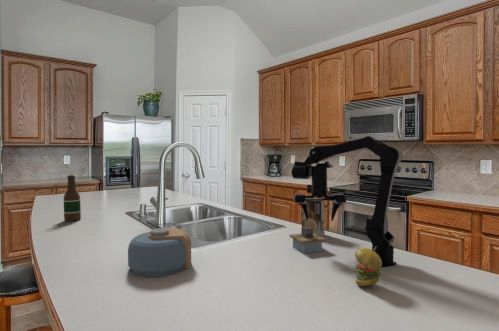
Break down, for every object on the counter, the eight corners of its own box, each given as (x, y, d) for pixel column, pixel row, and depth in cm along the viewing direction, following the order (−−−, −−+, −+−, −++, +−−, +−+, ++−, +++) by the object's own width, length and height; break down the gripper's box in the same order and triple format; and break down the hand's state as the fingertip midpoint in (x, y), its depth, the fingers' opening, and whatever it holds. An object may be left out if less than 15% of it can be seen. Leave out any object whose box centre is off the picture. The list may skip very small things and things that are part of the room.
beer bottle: (64, 219, 173) (63, 175, 171) (81, 218, 176) (79, 174, 174) (63, 222, 165) (61, 176, 164) (80, 221, 169) (79, 175, 167)
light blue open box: (321, 250, 121) (321, 240, 121) (303, 253, 118) (304, 242, 118) (309, 244, 129) (309, 235, 129) (292, 247, 126) (292, 237, 125)
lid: (325, 241, 120) (325, 229, 120) (302, 243, 117) (302, 232, 117) (311, 234, 130) (311, 223, 129) (289, 236, 126) (289, 225, 126)
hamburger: (359, 278, 96) (360, 239, 95) (384, 285, 92) (386, 243, 91) (349, 287, 90) (350, 245, 89) (376, 294, 86) (377, 250, 85)
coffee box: (325, 234, 144) (325, 199, 143) (321, 238, 138) (321, 201, 137) (305, 232, 148) (305, 197, 147) (301, 235, 142) (301, 199, 141)
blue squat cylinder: (201, 266, 106) (201, 230, 105) (142, 283, 92) (142, 242, 92) (173, 252, 120) (173, 220, 119) (119, 265, 107) (118, 229, 106)
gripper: (341, 177, 127) (341, 216, 128) (293, 178, 130) (294, 216, 130) (346, 180, 116) (346, 222, 117) (294, 180, 118) (295, 222, 119)
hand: (319, 220), depth 121 cm, fingers open, 9 cm apart
